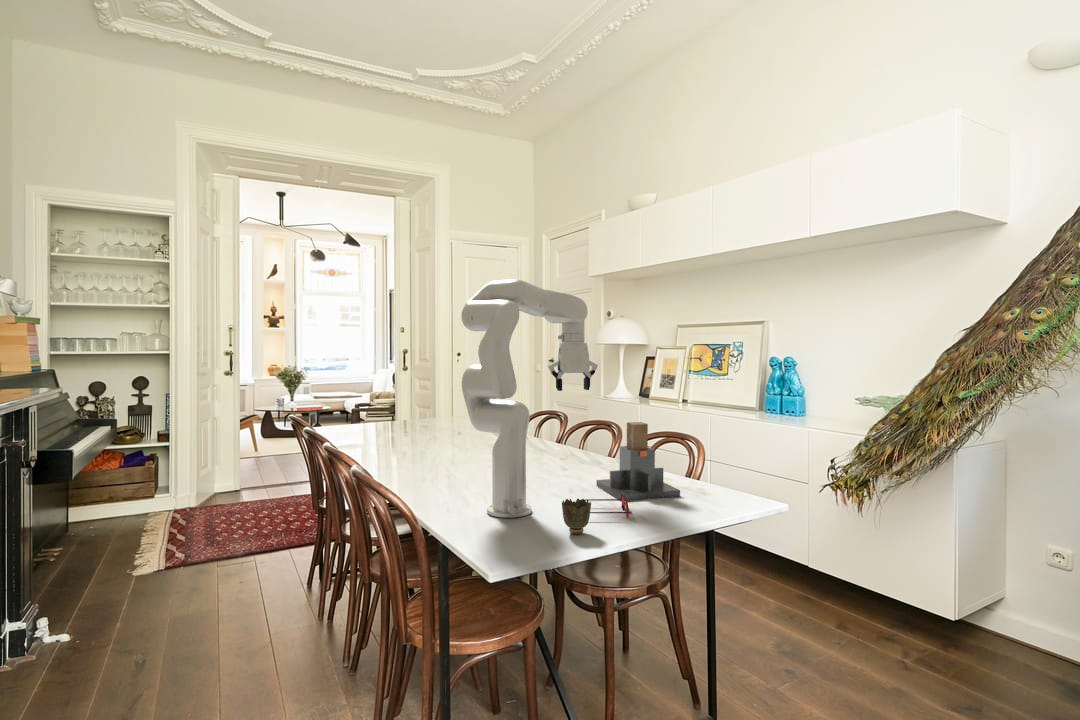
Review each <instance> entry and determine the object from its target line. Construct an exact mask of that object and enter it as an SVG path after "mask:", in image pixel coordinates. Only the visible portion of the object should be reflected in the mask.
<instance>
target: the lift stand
mask: <svg viewBox="0 0 1080 720" xmlns="http://www.w3.org/2000/svg"><path fill="white" fill-rule="evenodd" d="M655 461H656V450H655V448H652V447H649V446H648V449H642V450H631V449H629V448H627V445H623V446H622V445H621V446H619V470H609V478H605V479H596V487H597V486H598V487H597V488H599V487H600V488H601V489H600V488H599V489H600V490H602V489H603V490H602V491H604V492H605V491H606V492H605V493H607V494H608V493H609V495H610V496H612V497H613V498H614V499H621V494H622V493H623V495H624V496H625V499H626V500H628V501H640V500H655V499H665V498H666V499H667V498H679V497H681V490H680V489H679V488H677V487H674V486H672V485H671V484H668V483H665V481H664V468H663V467H656V462H655ZM628 501H627V502H628Z"/></svg>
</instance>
